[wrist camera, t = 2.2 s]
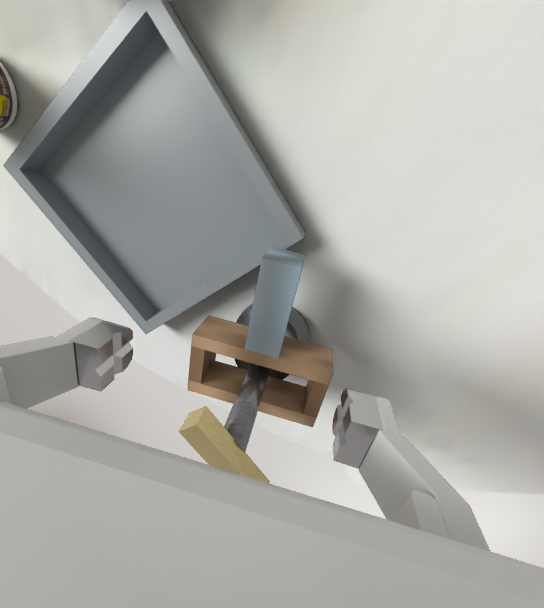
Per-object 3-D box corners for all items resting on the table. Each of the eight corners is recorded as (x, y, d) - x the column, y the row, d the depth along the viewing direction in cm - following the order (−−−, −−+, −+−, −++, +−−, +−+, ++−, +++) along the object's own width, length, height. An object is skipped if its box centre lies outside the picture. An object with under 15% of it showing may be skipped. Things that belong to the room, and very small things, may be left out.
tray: (169, 1, 18) (146, -24, 16) (305, 232, 22) (302, 238, 20) (33, 166, 24) (3, 165, 22) (160, 321, 28) (145, 334, 26)
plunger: (222, 320, 27) (133, 439, 15) (283, 286, 24) (237, 397, 12) (262, 374, 29) (213, 521, 16) (323, 348, 26) (318, 498, 14)
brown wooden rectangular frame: (361, 268, 19) (366, 284, 16) (314, 399, 24) (312, 427, 21) (218, 233, 19) (200, 242, 17) (202, 366, 25) (187, 389, 22)
